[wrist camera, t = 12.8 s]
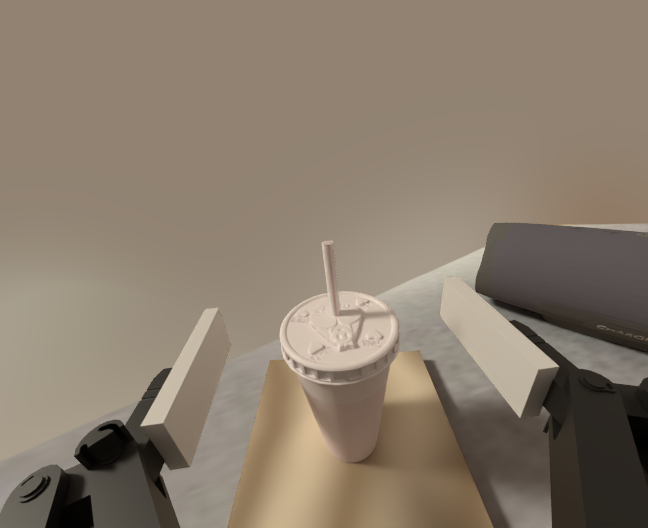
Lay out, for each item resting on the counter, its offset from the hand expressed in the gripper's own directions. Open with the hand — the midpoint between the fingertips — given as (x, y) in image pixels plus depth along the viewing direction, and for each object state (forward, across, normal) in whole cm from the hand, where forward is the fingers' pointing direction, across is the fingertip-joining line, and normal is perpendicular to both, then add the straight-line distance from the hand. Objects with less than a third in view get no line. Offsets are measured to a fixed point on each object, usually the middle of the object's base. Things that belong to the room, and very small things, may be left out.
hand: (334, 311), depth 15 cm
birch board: (-1, 0, -10) cm, 11 cm away
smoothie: (-2, 0, -10) cm, 10 cm away
